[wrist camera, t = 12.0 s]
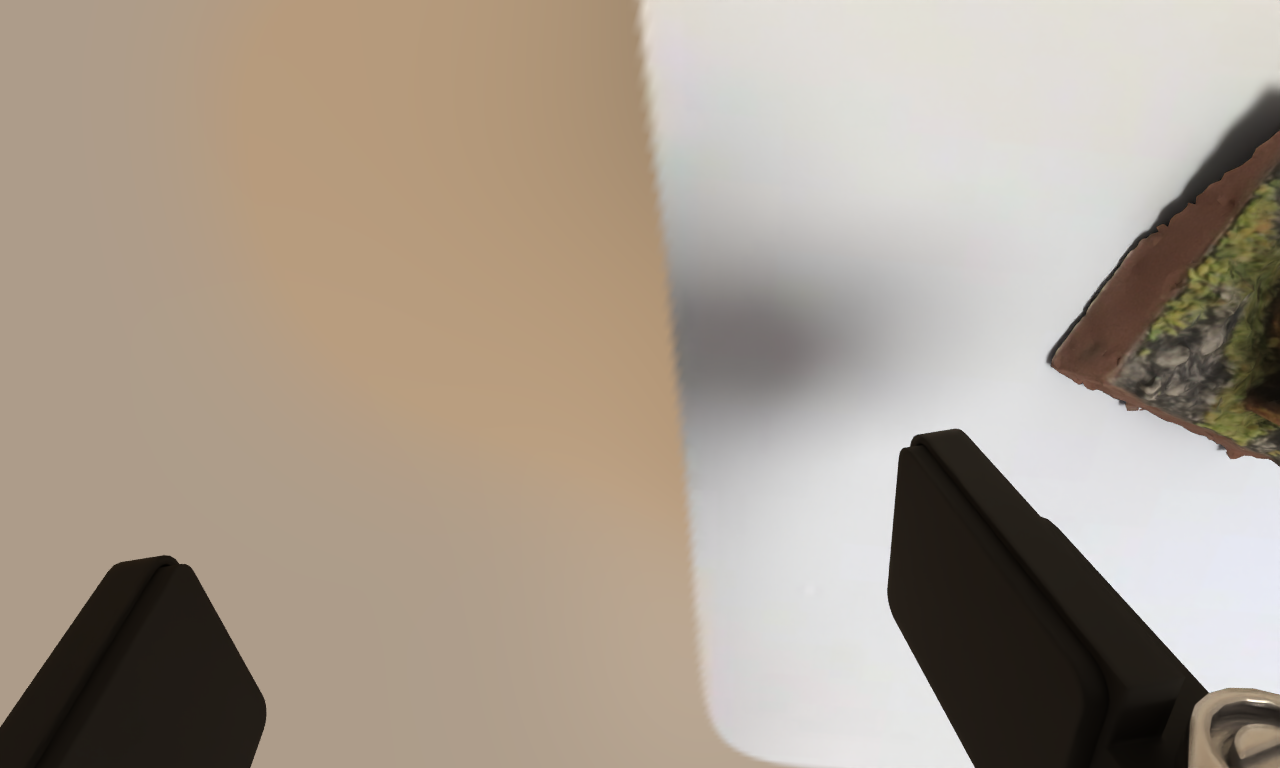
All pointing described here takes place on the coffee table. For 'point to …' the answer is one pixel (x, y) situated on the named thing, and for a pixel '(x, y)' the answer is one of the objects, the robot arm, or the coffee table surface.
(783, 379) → the coffee table surface
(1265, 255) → the figurine
